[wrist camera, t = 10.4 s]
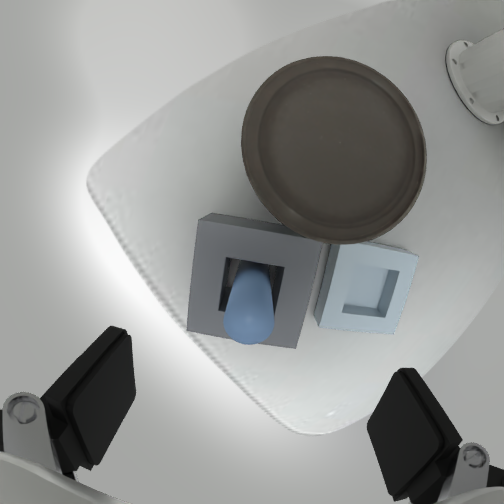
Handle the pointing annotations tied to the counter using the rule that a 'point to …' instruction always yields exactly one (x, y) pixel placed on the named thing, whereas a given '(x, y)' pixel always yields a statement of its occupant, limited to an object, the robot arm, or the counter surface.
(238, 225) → the port
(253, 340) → the plug
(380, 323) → the square frame plate
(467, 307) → the counter surface
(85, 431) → the robot arm
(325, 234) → the coffee can
